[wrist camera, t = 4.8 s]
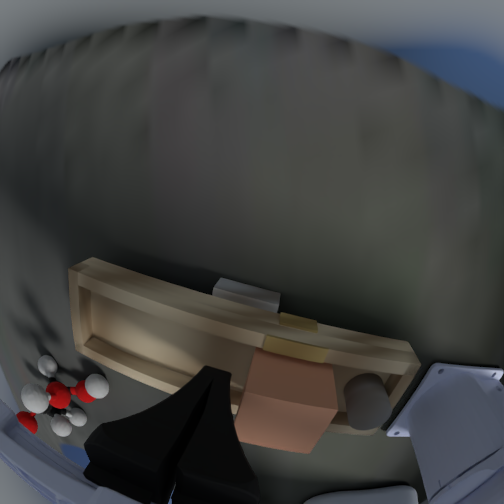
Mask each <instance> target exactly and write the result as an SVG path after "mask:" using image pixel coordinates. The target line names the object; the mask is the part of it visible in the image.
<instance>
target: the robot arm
mask: <svg viewBox="0 0 504 504" xmlns="http://www.w3.org/2000/svg"><path fill="white" fill-rule="evenodd" d="M440 369H441V370H440ZM439 370H440V371H439ZM502 375H503V370H502V369H501V368H487V367H474V366H463V365H453V364H444V363H435V364H433V365H432V366H431V367H430V368H429V370H428V372H427V373H426V375H425V376H424V378H423V380H422V381H421V383H420V384H419V386H418V387H417V389H416V391H415V392H414V394H413V395H412V396H411V398H410V399H409V401H408V402H407V404H406V405H405V407H404V408H403V409H402V411H401V412H400V413H399V415H398V416H397V417H396V419H395V420H394V421H393V423H392V424H391V425H390V427H389V428H388V429H387V430H386V435H387V436H410V438H411V441H412V444H413V447H414V451H415V454H416V457H417V461H418V464H419V468H420V471H421V475H422V478H423V482H424V486H425V490H426V494H427V498H428V502H429V504H504V387H503V385H502V384H501V383H500V381H499V380H500V378H501V376H502ZM231 377H232V374H231V373H230V372H228V371H224V370H221V369H217V368H214V367H211V366H207V365H205V366H203V367H202V369H201V370H200V371H199V372H198V373H197V374H196V375H195V376H194V377H193V378H192V379H191V380H190V381H189V382H187V383H186V384H185V385H184V386H183V387H182V388H180V389H179V390H178V391H176V392H175V393H174V394H172V395H171V396H169V397H168V398H166V399H165V400H163V401H162V402H160V403H158V404H156V405H154V406H153V407H150V408H148V409H146V410H144V411H142V412H140V413H137V414H135V415H132V416H129V417H126V418H123V419H120V420H116V421H111V422H107V423H102V424H101V425H100V426H98V427H97V428H96V429H95V430H94V431H93V432H92V434H91V435H90V436H89V438H88V439H87V440H86V442H85V443H84V447H85V451H86V453H87V455H88V457H89V460H90V463H89V464H88V466H87V467H86V469H84V468H82V467H80V466H79V465H77V464H76V463H74V462H72V461H71V460H69V459H68V458H66V457H65V456H63V455H62V454H60V453H59V452H57V451H56V450H55V449H53V448H52V447H50V446H49V445H48V444H46V443H45V442H44V441H42V440H41V439H40V438H38V437H37V436H36V435H34V434H33V433H32V432H31V431H29V430H28V429H27V428H26V427H25V426H23V425H22V424H21V423H20V422H19V421H18V418H17V416H16V415H15V413H14V412H13V411H12V410H11V409H10V408H9V407H8V406H7V405H6V404H5V403H4V402H3V401H2V400H1V399H0V458H1V459H2V460H3V461H4V462H5V463H6V464H7V465H8V466H9V467H10V468H11V469H12V470H13V471H14V472H15V473H16V474H17V475H19V476H20V477H21V478H22V479H23V480H24V481H25V482H27V483H28V484H29V485H30V486H31V487H32V488H34V489H35V490H36V491H37V492H38V493H40V494H41V495H42V496H44V497H45V498H46V499H47V500H49V501H50V502H52V503H53V504H168V502H169V499H170V496H171V493H172V491H173V488H174V485H175V482H176V487H175V489H174V491H173V494H172V496H171V499H172V504H259V501H260V491H259V485H258V480H257V477H256V475H255V473H254V472H253V470H252V468H251V466H250V465H249V463H248V461H247V459H246V457H245V454H244V452H243V449H242V447H241V444H240V442H239V439H238V436H237V433H236V429H235V425H234V421H233V415H232V409H231V400H230V382H231Z"/></svg>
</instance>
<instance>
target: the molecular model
mask: <svg viewBox="0 0 504 504" xmlns="http://www.w3.org/2000/svg"><path fill="white" fill-rule="evenodd" d="M38 368H39V370H40V372H41V373H42V374H43V375H45V376H48V378H49V382H50V383H49V384H48V386H47V388H46V391H45V390H44V389H43V388H42V387H41V386H40V385H38V384H35V383H30V384H27V385H25V386H24V387H23V389H22V392H21V398H22V401H23V403H24V405H25V407H26V408H27V409H28V410H30V411H31V413H28V412H25V411H21V412H19V413H18V414H17V415H16V416H17V418H18V421H19V422H20V423H21V424H22V425H23V426H25V427H26V428H27V429H28V430H29V431H31V432H32V433H33V434H35V433H36V432H37V429H38V425H37V421H36V419H35V418H34V416H35V415H36V413H42V414H46V413H47V414H48V415H49V416H51V417H54V418H53V419H52V421H51V426H52V429H53V431H54V432H55V433H56V434H57V435H59V436H68V435H69V434H70V433H71V430H72V427H71V423H72V424H74V425H76V426H83V425H84V424H85V423H86V421H87V417H86V414H85V412H84V411H83V410H81V409H79V408H72V409H71V410H70V411H68V410H66V409H64V408H65V407H67V406H68V405H69V403H70V401H71V395H77V397H78V398H79V399H80V400H81V401H83V402H86V403H90V402H92V401H94V400H95V399H96V398H103V397H105V396H106V395H107V393H108V391H109V384H108V382H107V380H106V379H105V378H104V377H103V376H102V375H100V374H91V375H90V376H88V377H87V379H86V380H82V381H80V382H78V383H77V385H76V387H66V386H65V385H64V384H62V383H60V382H58V381H56V379H55V375H54V374H55V373H56V371H57V363H56V361H55V360H54V358H52V357H51V356H48V355H44V356H42V357H40V359H39V361H38ZM61 414H64V415H66V416H68V417H69V420H70V421H71V423H70V422H69V420H68V419H67V418H65V417H64V416H61Z"/></svg>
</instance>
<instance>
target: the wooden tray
mask: <svg viewBox="0 0 504 504" xmlns="http://www.w3.org/2000/svg"><path fill="white" fill-rule="evenodd" d="M68 275H69V295H70V308H71V318H72V327H73V335H74V342H75V349H76V351H78V352H80V353H82V354H84V355H86V356H87V357H89V358H91V359H93V360H95V361H97V362H99V363H101V364H103V365H105V366H107V367H109V368H111V369H113V370H116V371H118V372H120V373H122V374H124V375H126V376H129V377H131V378H133V379H135V380H138V381H140V382H143V383H145V384H147V385H150V386H152V387H155V388H157V389H160V390H162V391H165V392H168V393H170V394H174V393H175V392H176V391H178V390H179V389H180V388H182V387H183V386H184V385H185V384H186V383H187V382H189V381H190V380H191V379H192V378H193V377H194V376H195V375H196V374H197V373H198V372H199V371H200V370H201V369H202V367H203V366H205V365H207V366H211V367H214V368H217V369H221V370H224V371H228V372H230V373H231V374H232V377H231V382H230V400H231V409H232V413H233V414H237V410H238V406H239V403H240V399H241V395H242V392H243V388H244V385H245V382H246V378H247V375H248V372H249V368H250V365H251V362H252V358H253V355H254V352H255V348H256V347H259V348H263V349H262V350H265V351H269V352H273V353H277V354H281V355H285V356H290V357H294V358H299V359H303V360H308V361H313V362H318V363H323V362H325V363H330V364H332V367H333V374H334V381H335V388H336V395H337V403H338V411H337V413H336V415H335V416H334V418H333V419H332V421H331V422H330V424H329V426H328V427H327V429H326V430H325V432H334V433H343V434H355V435H370V436H373V435H374V434H375V432H376V431H377V430H378V428H379V427H380V426H381V425H382V424H383V423H385V422H386V421H387V420H388V419H389V418H390V416H391V414H392V410H393V408H394V407H395V405H396V404H397V402H398V401H399V400H400V398H401V397H402V395H403V394H404V392H405V391H406V389H407V387H408V386H409V384H410V383H411V381H412V380H413V378H414V376H415V375H416V373H417V371H418V370H419V368H420V366H421V363H420V361H419V359H418V358H417V356H416V354H415V352H414V351H413V349H412V347H411V346H410V344H409V342H407V341H402V340H396V339H391V338H386V337H381V336H376V335H371V334H366V333H361V332H356V331H351V330H347V329H342V328H337V327H333V326H328V325H324V324H320V323H317V321H316V320H311V319H307V318H303V317H299V316H295V315H291V314H287V313H283V312H281V314H278V313H277V310H278V307H279V302H280V295H281V293H278V292H274V291H270V290H266V289H262V288H258V287H255V286H251V285H247V284H243V283H240V282H236V281H232V280H229V279H225V278H220V279H219V281H218V282H217V283H216V285H215V286H214V288H213V293H212V295H208V294H205V293H201V292H198V291H195V290H191V289H188V288H185V287H181V286H178V285H175V284H172V283H168V282H165V281H162V280H159V279H156V278H153V277H150V276H147V275H143V274H140V273H137V272H134V271H131V270H128V269H126V268H123V267H120V266H117V265H114V264H111V263H108V262H105V261H102V260H100V259H97V258H94V257H91V258H89V259H87V260H85V261H83V262H80V263H78V264H76V265H74V266H72V267H70V268H68Z"/></svg>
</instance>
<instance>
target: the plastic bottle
mask: <svg viewBox="0 0 504 504" xmlns="http://www.w3.org/2000/svg"><path fill="white" fill-rule="evenodd" d="M303 504H418V500H417V493H416V491H415V489H414V488H412V487H410V486H406V485H399V486H391V487H384V488H376V489H366V490H354V491H338V492H330V493H325V494H321V495H318V496H315V497H313V498H311V499H309V500H307V501H306V502H305V503H303Z"/></svg>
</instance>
